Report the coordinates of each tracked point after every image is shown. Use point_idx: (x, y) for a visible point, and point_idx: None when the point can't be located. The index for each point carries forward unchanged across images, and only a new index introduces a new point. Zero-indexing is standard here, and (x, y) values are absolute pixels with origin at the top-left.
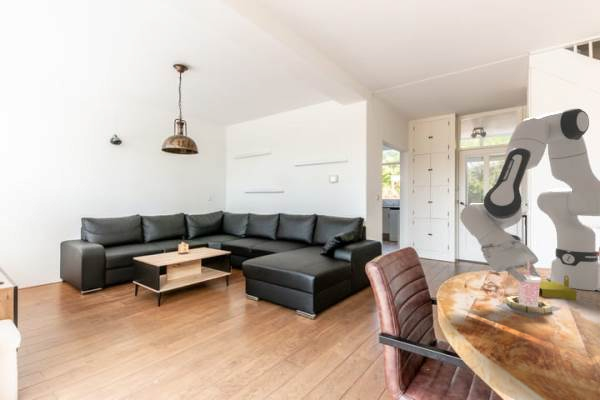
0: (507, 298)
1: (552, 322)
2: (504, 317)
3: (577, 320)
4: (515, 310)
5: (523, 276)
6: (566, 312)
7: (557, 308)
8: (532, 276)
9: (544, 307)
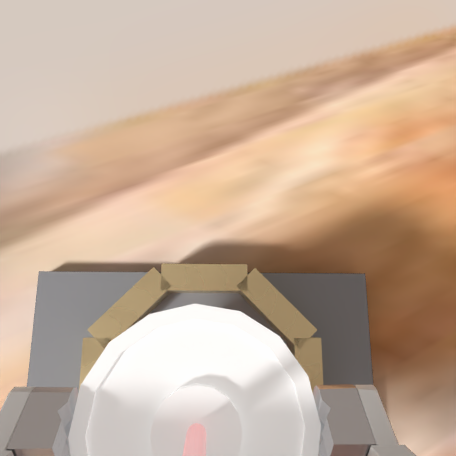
0: None
1: (275, 223)
2: (450, 376)
3: (126, 178)
4: (344, 381)
5: (352, 416)
6: (36, 254)
7: (63, 281)
8: (165, 401)
9: (222, 277)
